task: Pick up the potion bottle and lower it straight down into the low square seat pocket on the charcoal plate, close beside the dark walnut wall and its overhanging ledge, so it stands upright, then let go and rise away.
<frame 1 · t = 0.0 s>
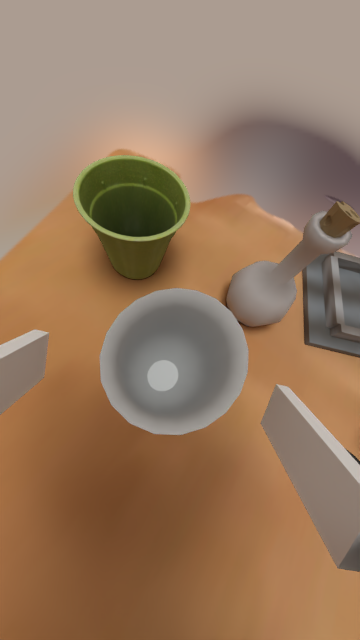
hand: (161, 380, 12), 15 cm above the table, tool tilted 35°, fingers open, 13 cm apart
chalice: (156, 384, 27), on the table
plant pot: (137, 260, 33), on the table
ledge nook: (358, 306, 36), on the table
potion bottle: (248, 306, 33), on the table
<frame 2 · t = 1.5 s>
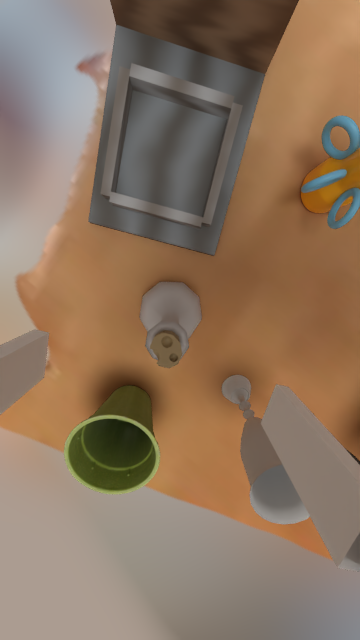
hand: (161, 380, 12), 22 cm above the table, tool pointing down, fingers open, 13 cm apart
chalice: (236, 387, 38), on the table
plant pot: (131, 401, 38), on the table
ledge nook: (169, 162, 29), on the table
potion bottle: (172, 307, 34), on the table
orange ring-handled vase: (319, 190, 30), on the table
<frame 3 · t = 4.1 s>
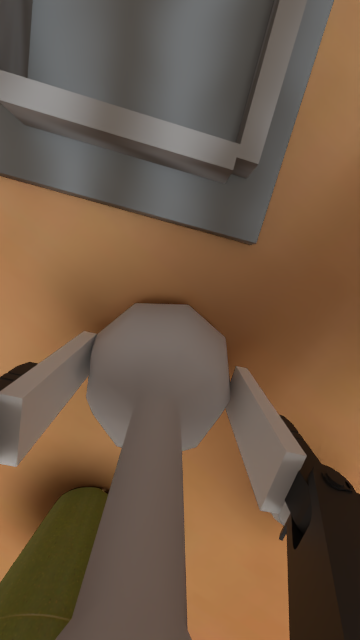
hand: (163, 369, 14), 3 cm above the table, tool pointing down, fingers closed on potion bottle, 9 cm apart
plant pot: (92, 510, 21), on the table
ledge nook: (156, 20, 12), on the table
potion bottle: (165, 348, 17), on the table, touching gripper
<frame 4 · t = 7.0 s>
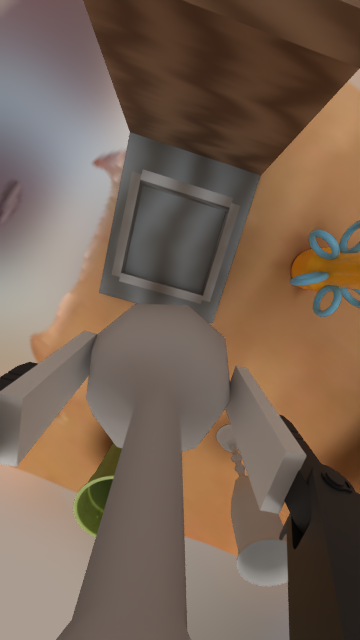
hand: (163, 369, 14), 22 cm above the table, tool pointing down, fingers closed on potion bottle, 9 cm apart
chalice: (229, 435, 41), on the table
plant pot: (132, 445, 41), on the table
ledge nook: (174, 243, 32), on the table
potion bottle: (165, 348, 17), point 18 cm above the table, touching gripper
orange ring-handled vase: (308, 269, 34), on the table
when the fingers open (6 cm above the table, at t = 10.3 s): potion bottle drops 1 cm, resting on ledge nook.
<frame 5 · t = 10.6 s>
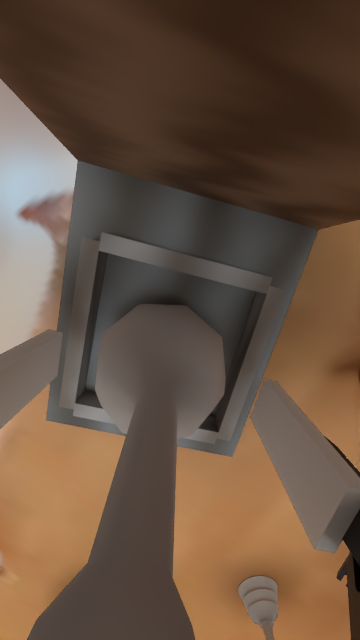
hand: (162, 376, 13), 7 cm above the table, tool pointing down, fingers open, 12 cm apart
chalice: (257, 587, 28), on the table
ledge nook: (167, 338, 19), on the table
potion bottle: (167, 343, 18), point 1 cm above the table, touching ledge nook
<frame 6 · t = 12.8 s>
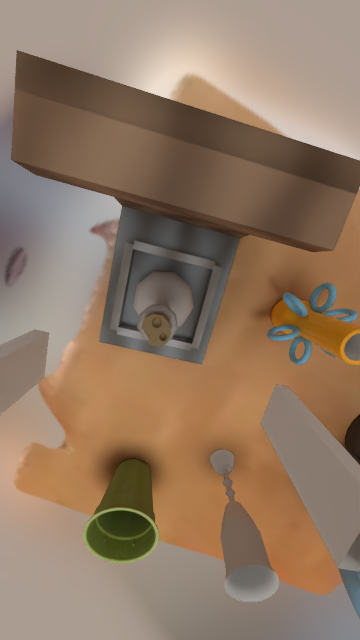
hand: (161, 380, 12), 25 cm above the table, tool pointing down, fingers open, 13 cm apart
chalice: (221, 458, 45), on the table
plant pot: (134, 470, 45), on the table
ledge nook: (165, 296, 36), on the table
potion bottle: (165, 297, 35), point 1 cm above the table, touching ledge nook
orange ring-handled vase: (286, 314, 38), on the table
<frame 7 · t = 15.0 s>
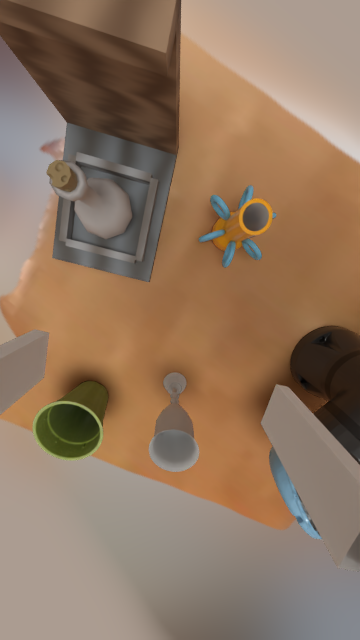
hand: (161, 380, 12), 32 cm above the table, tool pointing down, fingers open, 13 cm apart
chalice: (174, 382, 48), on the table
plant pot: (92, 393, 48), on the table
ledge nook: (112, 214, 39), on the table
potion bottle: (111, 214, 39), point 1 cm above the table, touching ledge nook
orange ring-handled vase: (226, 234, 41), on the table
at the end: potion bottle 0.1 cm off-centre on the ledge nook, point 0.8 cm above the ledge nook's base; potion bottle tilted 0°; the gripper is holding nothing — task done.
